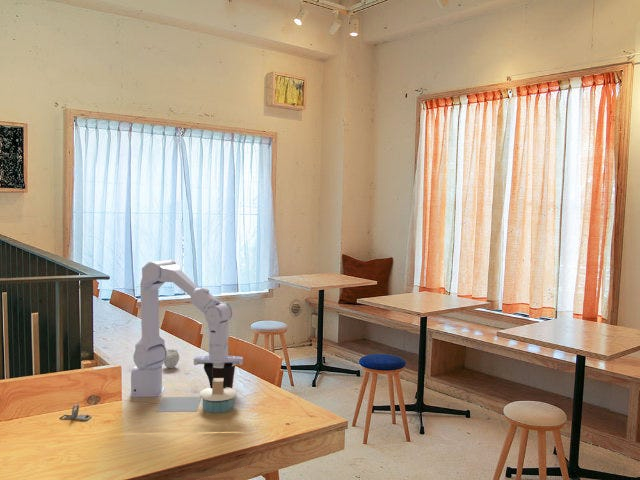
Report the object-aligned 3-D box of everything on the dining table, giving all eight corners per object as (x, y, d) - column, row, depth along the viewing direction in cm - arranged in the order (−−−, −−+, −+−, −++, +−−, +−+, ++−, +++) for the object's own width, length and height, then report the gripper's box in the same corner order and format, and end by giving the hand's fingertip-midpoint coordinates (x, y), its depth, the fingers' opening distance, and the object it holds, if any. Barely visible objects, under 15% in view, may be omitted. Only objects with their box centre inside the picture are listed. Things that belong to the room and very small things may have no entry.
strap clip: (92, 418, 161) (92, 404, 161) (86, 422, 158) (86, 407, 158) (64, 416, 162) (64, 402, 162) (58, 420, 159) (58, 406, 158)
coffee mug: (229, 399, 177) (229, 369, 176) (204, 397, 179) (204, 366, 178) (241, 387, 188) (242, 358, 188) (217, 385, 190) (218, 356, 189)
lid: (197, 401, 163) (197, 386, 163) (201, 388, 174) (202, 374, 174) (235, 400, 164) (235, 385, 164) (237, 388, 175) (237, 373, 175)
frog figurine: (182, 365, 211) (182, 347, 211) (175, 370, 205) (175, 352, 204) (166, 364, 212) (166, 346, 212) (159, 370, 205) (159, 351, 205)
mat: (155, 413, 165) (155, 411, 165) (163, 398, 177) (163, 397, 177) (196, 412, 166) (196, 411, 166) (201, 397, 178) (201, 396, 178)
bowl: (201, 414, 165) (201, 402, 164) (204, 403, 174) (204, 392, 173) (231, 413, 166) (232, 402, 165) (233, 402, 174) (233, 391, 174)
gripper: (192, 347, 163) (192, 392, 164) (242, 346, 165) (241, 391, 166) (195, 340, 170) (195, 384, 171) (243, 340, 172) (242, 383, 173)
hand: (218, 387), depth 169 cm, fingers closed on lid, 3 cm apart
